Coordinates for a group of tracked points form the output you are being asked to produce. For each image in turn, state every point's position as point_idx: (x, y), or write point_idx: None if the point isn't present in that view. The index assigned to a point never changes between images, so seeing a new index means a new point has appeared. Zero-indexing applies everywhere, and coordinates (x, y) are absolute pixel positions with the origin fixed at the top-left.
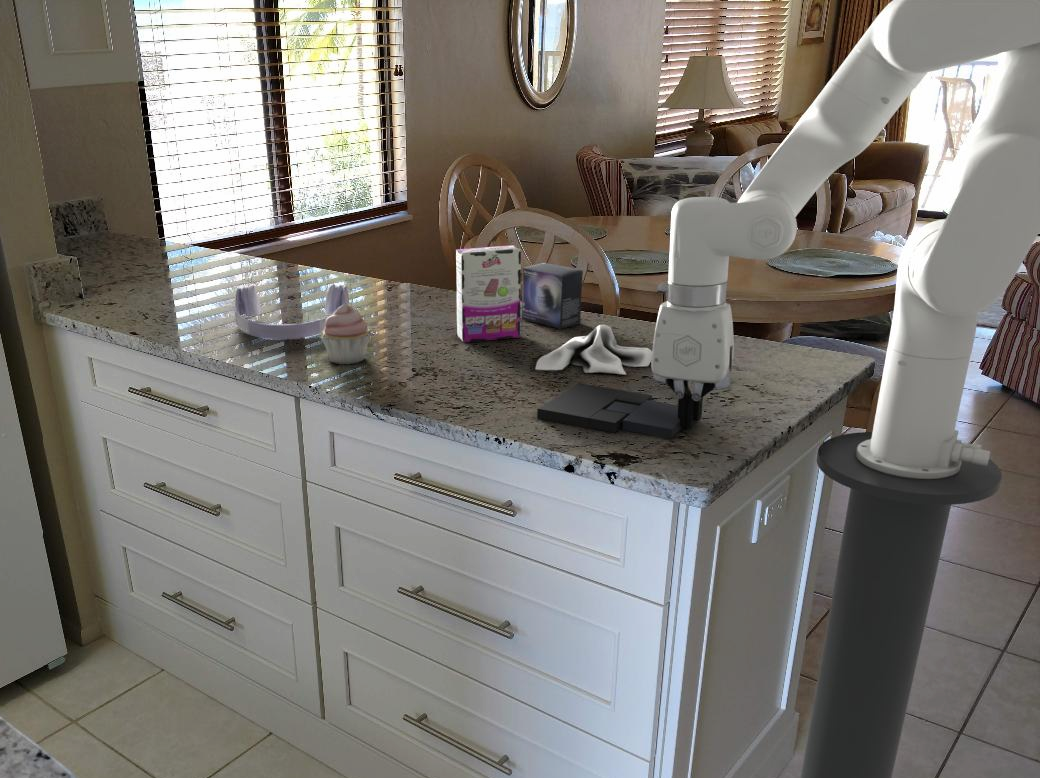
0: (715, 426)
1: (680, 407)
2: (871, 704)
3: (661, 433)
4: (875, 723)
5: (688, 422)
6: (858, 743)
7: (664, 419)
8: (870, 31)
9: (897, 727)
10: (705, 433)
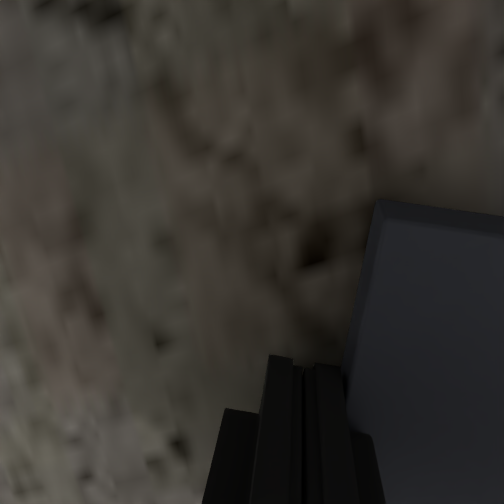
0: (165, 459)
1: (363, 491)
2: None
3: (455, 214)
4: None
5: (285, 375)
6: None
7: (461, 395)
8: None
9: None
10: (190, 351)
